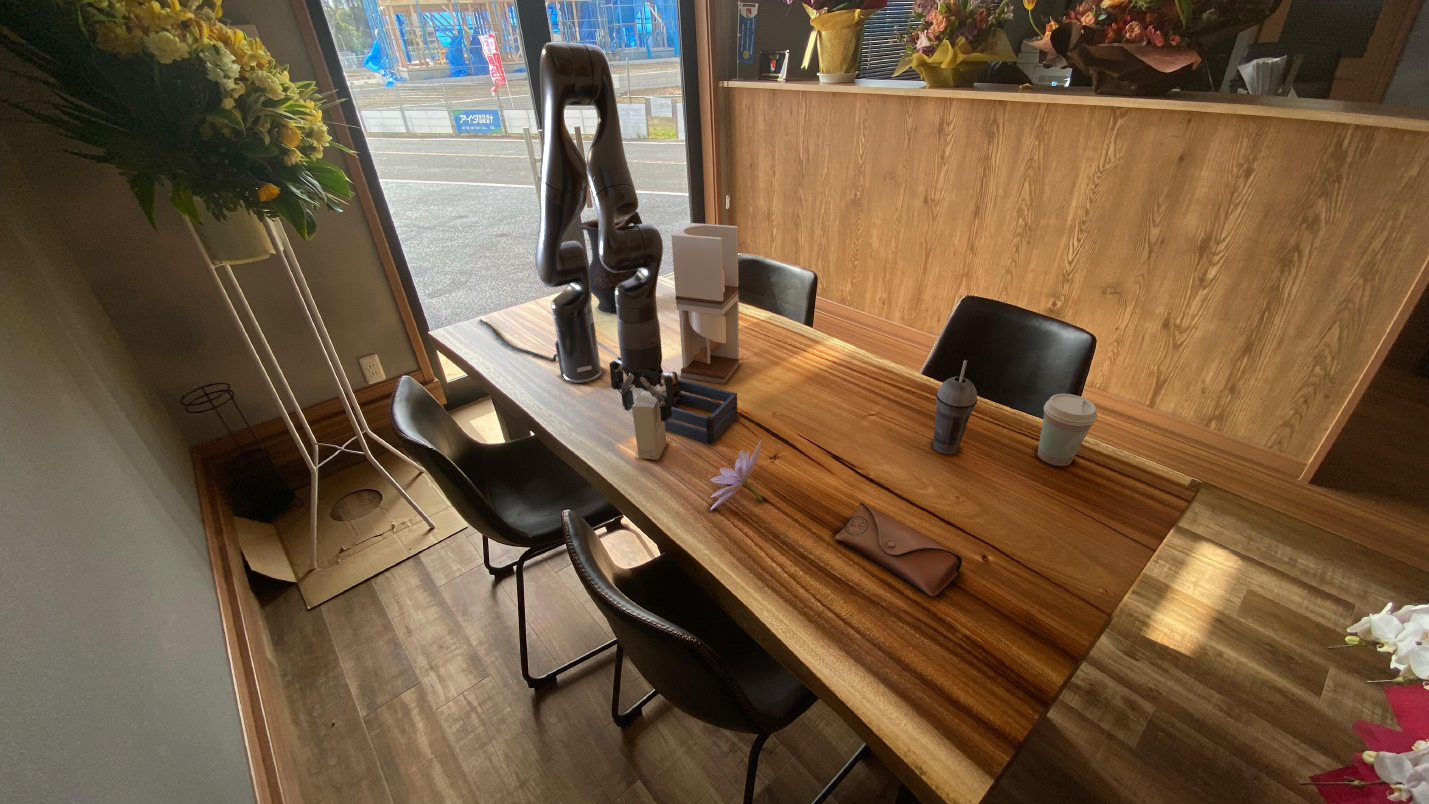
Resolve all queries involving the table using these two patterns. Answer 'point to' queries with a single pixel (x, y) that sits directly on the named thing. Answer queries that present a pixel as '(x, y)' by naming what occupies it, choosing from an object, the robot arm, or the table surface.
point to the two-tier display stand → (707, 300)
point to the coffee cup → (1065, 427)
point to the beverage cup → (953, 412)
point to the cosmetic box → (648, 426)
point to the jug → (600, 277)
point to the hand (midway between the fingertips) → (647, 413)
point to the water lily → (736, 476)
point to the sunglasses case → (901, 550)
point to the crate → (713, 423)
